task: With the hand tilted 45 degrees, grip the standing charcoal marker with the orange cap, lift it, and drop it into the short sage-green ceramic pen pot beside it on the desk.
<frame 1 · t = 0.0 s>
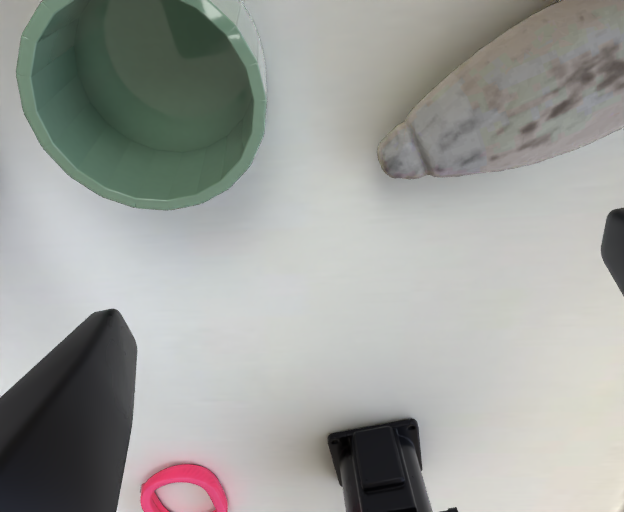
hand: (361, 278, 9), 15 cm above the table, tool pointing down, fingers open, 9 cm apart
decorative stone: (533, 72, 22), on the table
pen pot: (169, 66, 21), on the table
fitness band: (186, 489, 39), on the table
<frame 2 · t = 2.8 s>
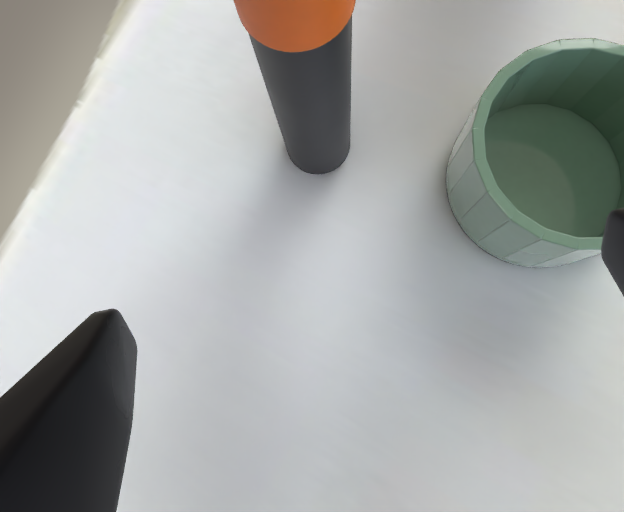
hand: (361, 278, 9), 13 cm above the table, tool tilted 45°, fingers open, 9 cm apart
marker: (318, 144, 24), on the table
pen pot: (533, 181, 23), on the table
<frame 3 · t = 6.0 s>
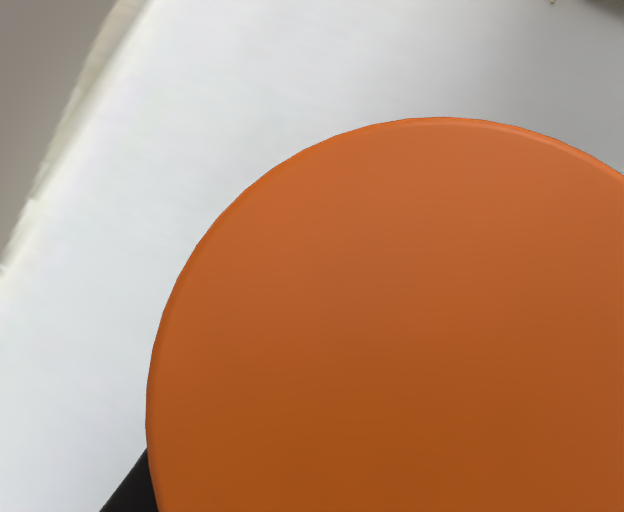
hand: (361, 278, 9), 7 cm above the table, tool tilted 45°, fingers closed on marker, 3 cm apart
marker: (363, 346, 15), on the table, touching gripper
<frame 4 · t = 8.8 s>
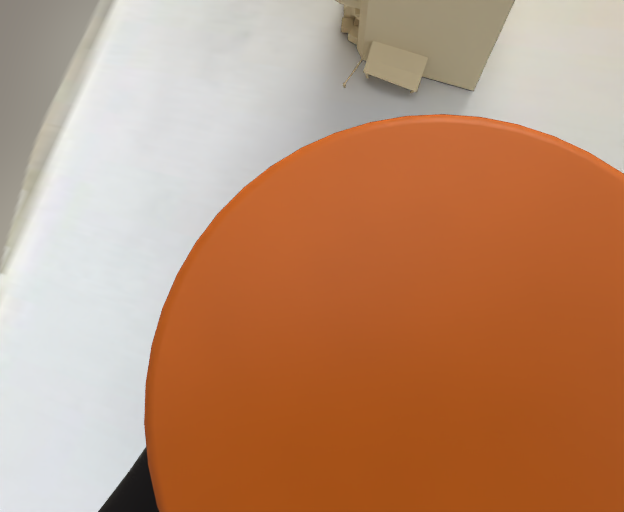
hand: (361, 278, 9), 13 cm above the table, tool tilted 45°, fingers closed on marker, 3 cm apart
marker: (363, 345, 15), point 7 cm above the table, touching gripper
robot: (415, 7, 25), on the table
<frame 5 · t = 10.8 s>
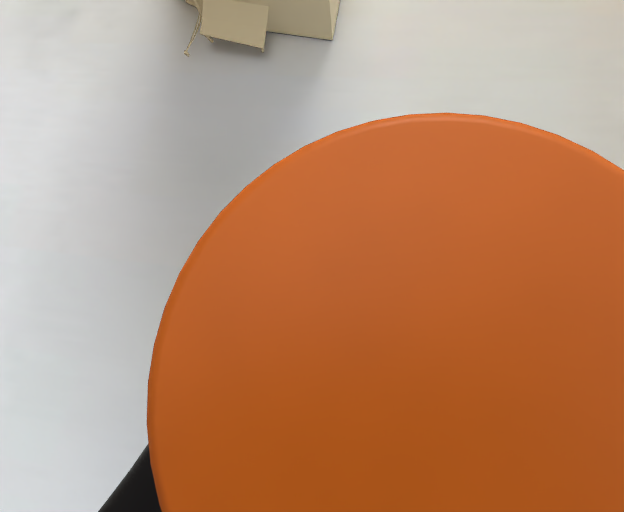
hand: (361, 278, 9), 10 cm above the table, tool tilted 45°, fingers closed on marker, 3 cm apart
marker: (363, 345, 15), point 3 cm above the table, touching gripper
when the fingers open (7 cm above the table, at t = 11.9 s): marker stays where it is, resting on pen pot.
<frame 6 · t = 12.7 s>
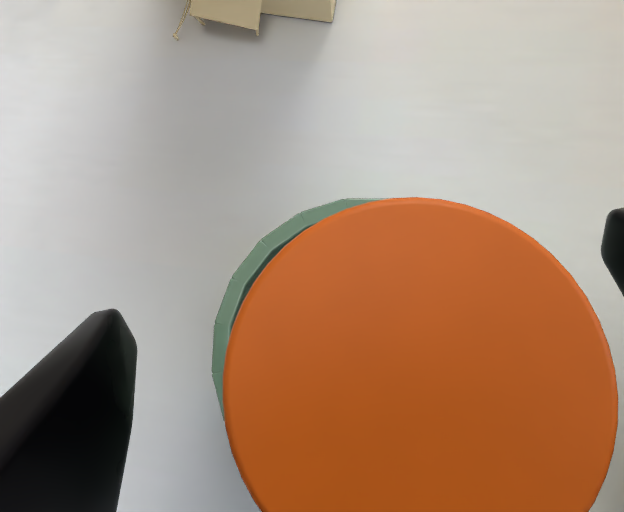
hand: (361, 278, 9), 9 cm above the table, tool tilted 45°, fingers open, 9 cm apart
marker: (363, 347, 17), resting on pen pot
pen pot: (362, 347, 17), on the table
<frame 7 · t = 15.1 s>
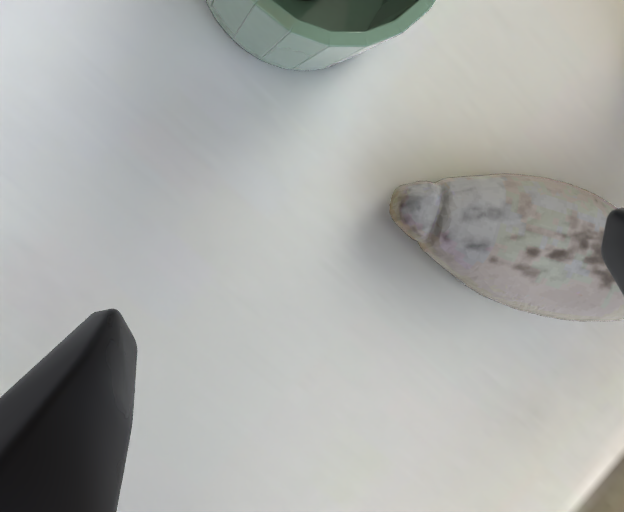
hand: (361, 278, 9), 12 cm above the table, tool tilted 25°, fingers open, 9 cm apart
decorative stone: (514, 239, 25), on the table
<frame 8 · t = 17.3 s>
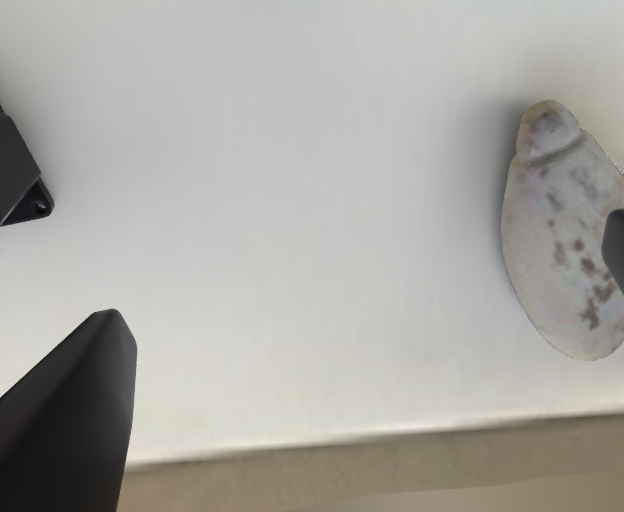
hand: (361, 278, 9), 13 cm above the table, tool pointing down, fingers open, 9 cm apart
decorative stone: (555, 230, 25), on the table
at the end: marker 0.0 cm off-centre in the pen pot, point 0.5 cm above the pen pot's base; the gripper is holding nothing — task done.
